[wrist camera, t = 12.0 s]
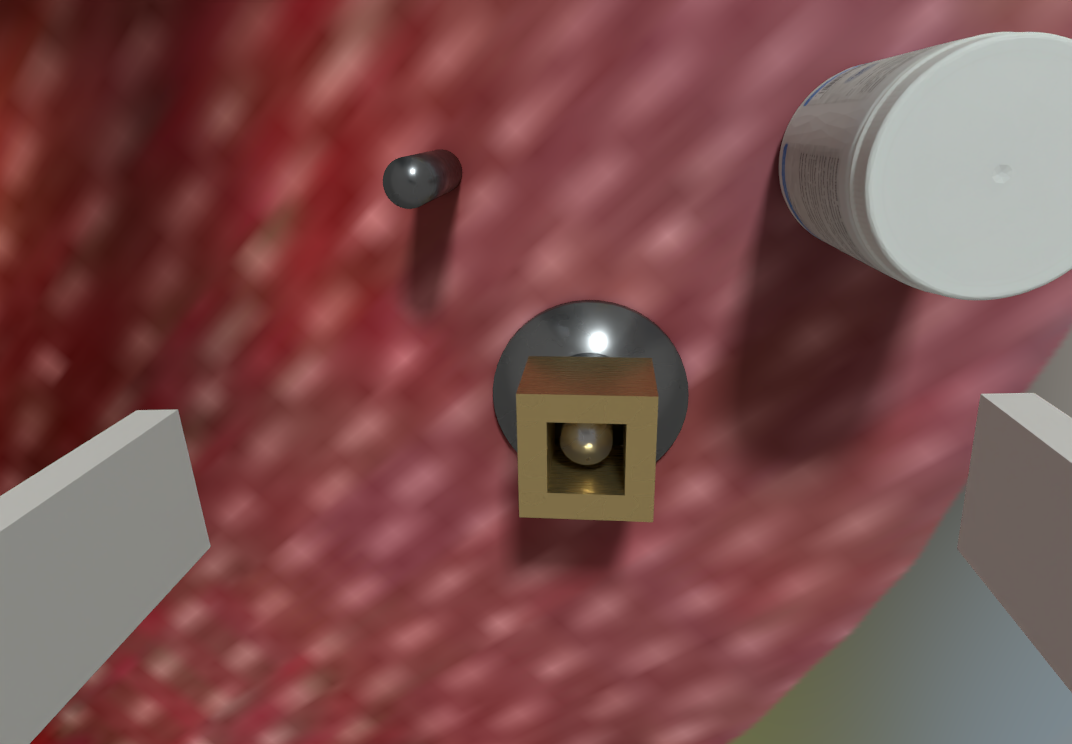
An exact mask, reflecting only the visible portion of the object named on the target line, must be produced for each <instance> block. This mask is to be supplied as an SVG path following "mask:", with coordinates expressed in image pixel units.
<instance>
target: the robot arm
mask: <svg viewBox="0 0 1072 744" xmlns="http://www.w3.org/2000/svg"><path fill="white" fill-rule="evenodd" d="M210 547H211V546H210V542H209V538H208V534H207V530H206V525H205V521H204V517H203V513H202V509H201V504H200V500H199V496H198V492H197V488H196V483H195V479H194V475H193V471H192V466H191V462H190V458H189V454H188V450H187V445H186V441H185V437H184V433H183V429H182V424H181V420H180V416H179V412H178V410H136V411H135V412H133V413H132V414H130V415H128V416H127V417H125V418H124V419H122V420H120V421H119V422H117V423H116V424H114V425H113V426H111V427H109V428H108V429H106V430H105V431H103V432H101V433H100V434H98V435H97V436H95V437H93V438H92V439H90V440H89V441H87V442H85V443H84V444H82V445H81V446H79V447H78V448H76V449H74V450H73V451H71V452H70V453H68V454H66V455H65V456H63V457H62V458H60V459H58V460H57V461H55V462H54V463H52V464H51V465H49V466H47V467H46V468H44V469H43V470H41V471H39V472H38V473H36V474H35V475H33V476H31V477H30V478H28V479H27V480H25V481H23V482H22V483H20V484H19V485H17V486H16V487H14V488H12V489H11V490H9V491H8V492H6V493H4V494H3V495H1V496H0V744H30V743H31V742H32V741H33V739H34V738H35V737H36V736H37V735H38V734H39V733H40V732H41V731H42V730H43V729H44V728H45V726H46V725H47V724H48V723H49V722H50V721H51V720H52V719H53V718H54V717H55V716H56V714H57V713H58V712H59V711H60V710H61V709H62V708H63V707H64V706H65V705H66V704H67V702H68V701H69V700H70V699H71V698H72V697H73V696H74V695H75V694H76V693H77V692H78V691H79V689H80V688H81V687H82V686H83V685H84V684H85V683H86V682H87V681H88V680H89V679H90V677H91V676H92V675H93V674H94V673H95V672H96V671H97V670H98V669H99V668H100V667H101V666H102V664H103V663H104V662H105V661H106V660H107V659H108V658H109V657H110V656H111V655H112V654H113V652H114V651H115V650H116V649H117V648H118V647H119V646H120V645H121V644H122V643H123V642H124V641H125V639H126V638H127V637H128V636H129V635H130V634H131V633H132V632H133V631H134V630H135V629H136V627H137V626H138V625H139V624H140V623H141V622H142V621H143V620H144V619H145V618H146V617H147V615H148V614H149V613H150V612H151V611H152V610H153V609H154V608H155V607H156V606H157V605H158V604H159V602H160V601H161V600H162V599H163V598H164V597H165V596H166V595H167V594H168V593H169V592H170V590H171V589H172V588H173V587H174V586H175V585H176V584H177V583H178V582H179V581H180V580H181V579H182V577H183V576H184V575H185V574H186V573H187V572H188V571H189V570H190V569H191V568H192V567H193V565H194V564H195V563H196V562H197V561H198V560H199V559H200V558H201V557H202V556H203V555H204V554H205V552H206V551H207V550H208V549H209V548H210ZM957 549H958V550H959V551H960V553H961V554H962V555H963V557H964V558H965V559H966V560H967V562H968V563H969V564H970V565H971V567H972V568H973V569H974V570H975V572H976V573H977V574H978V576H979V577H980V578H981V579H982V580H983V582H984V583H985V584H986V585H987V587H988V588H989V589H990V590H991V592H992V593H993V594H994V596H995V597H996V598H997V599H998V601H999V602H1000V603H1001V604H1002V606H1003V607H1004V608H1005V609H1006V611H1007V612H1008V613H1009V614H1010V616H1011V617H1012V618H1013V619H1014V621H1015V622H1016V623H1017V624H1018V626H1019V627H1020V628H1021V630H1022V631H1023V632H1024V633H1025V635H1026V636H1027V637H1028V638H1029V639H1030V641H1031V642H1032V643H1033V645H1034V646H1035V647H1036V648H1037V649H1038V651H1039V652H1040V653H1041V655H1042V656H1043V657H1044V658H1045V660H1046V661H1047V662H1048V663H1049V665H1050V666H1051V667H1052V668H1053V670H1054V671H1055V672H1056V673H1057V675H1058V676H1059V677H1060V678H1061V680H1062V681H1063V682H1064V684H1065V685H1066V686H1067V687H1068V689H1069V690H1070V691H1071V692H1072V418H1071V417H1070V416H1068V415H1066V414H1065V413H1063V412H1062V411H1060V410H1059V409H1057V408H1056V407H1054V406H1053V405H1051V404H1050V403H1048V402H1047V401H1045V400H1044V399H1042V398H1041V397H1039V396H1038V395H1036V394H1035V393H1006V394H981V395H980V402H979V408H978V415H977V422H976V428H975V435H974V441H973V448H972V455H971V461H970V468H969V474H968V481H967V487H966V494H965V502H964V507H963V514H962V520H961V527H960V534H959V541H958V547H957Z"/></svg>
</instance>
